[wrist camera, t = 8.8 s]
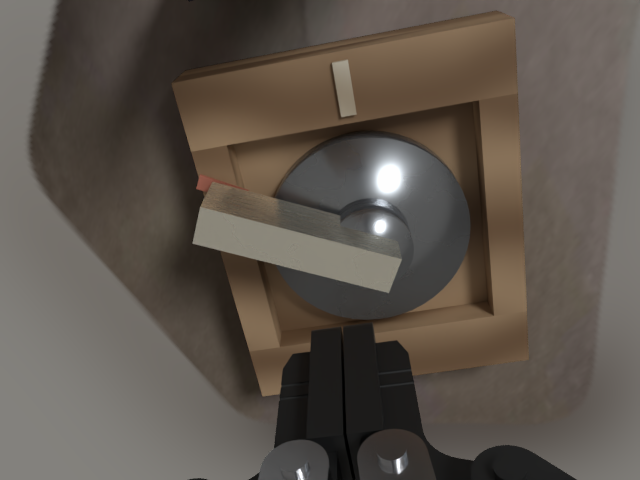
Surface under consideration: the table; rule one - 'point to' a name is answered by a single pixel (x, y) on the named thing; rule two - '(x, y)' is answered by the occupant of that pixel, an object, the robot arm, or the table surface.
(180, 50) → the table surface
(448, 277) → the dial
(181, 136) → the table surface
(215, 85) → the wooden tray
